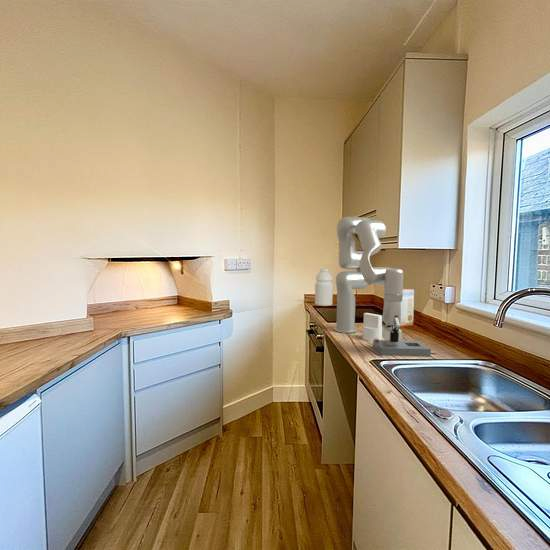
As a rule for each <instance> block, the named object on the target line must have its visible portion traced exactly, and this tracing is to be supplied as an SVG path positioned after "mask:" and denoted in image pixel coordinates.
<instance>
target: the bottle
mask: <svg viewBox="0 0 550 550" xmlns="http://www.w3.org/2000/svg"><path fill="white" fill-rule="evenodd" d="M329 270H330V269H329V268H320V270H319V271H320V272H318V273H317V275H316V276H315V277H316V278H315V280H316V282H315V283H314V305H316V306H319V307H320V306H322V307H326V306H327V307H328V306H333V300H334V299H333V297H334V296H333V295H334V294H333V292H334V283H333V279H334V278H333V276H332V274H331V273H330V271H329Z"/></svg>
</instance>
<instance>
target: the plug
mask: <svg viewBox="0 0 550 550" xmlns="http://www.w3.org/2000/svg"><path fill="white" fill-rule="evenodd" d="M393 329H394V327H393ZM390 333H391V327H385V326H382V339H383V340H386V344H388V345H397V342H391V341H390ZM398 340H399V341H402V340H403V330H402V329H401V328H399V337H398Z"/></svg>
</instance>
